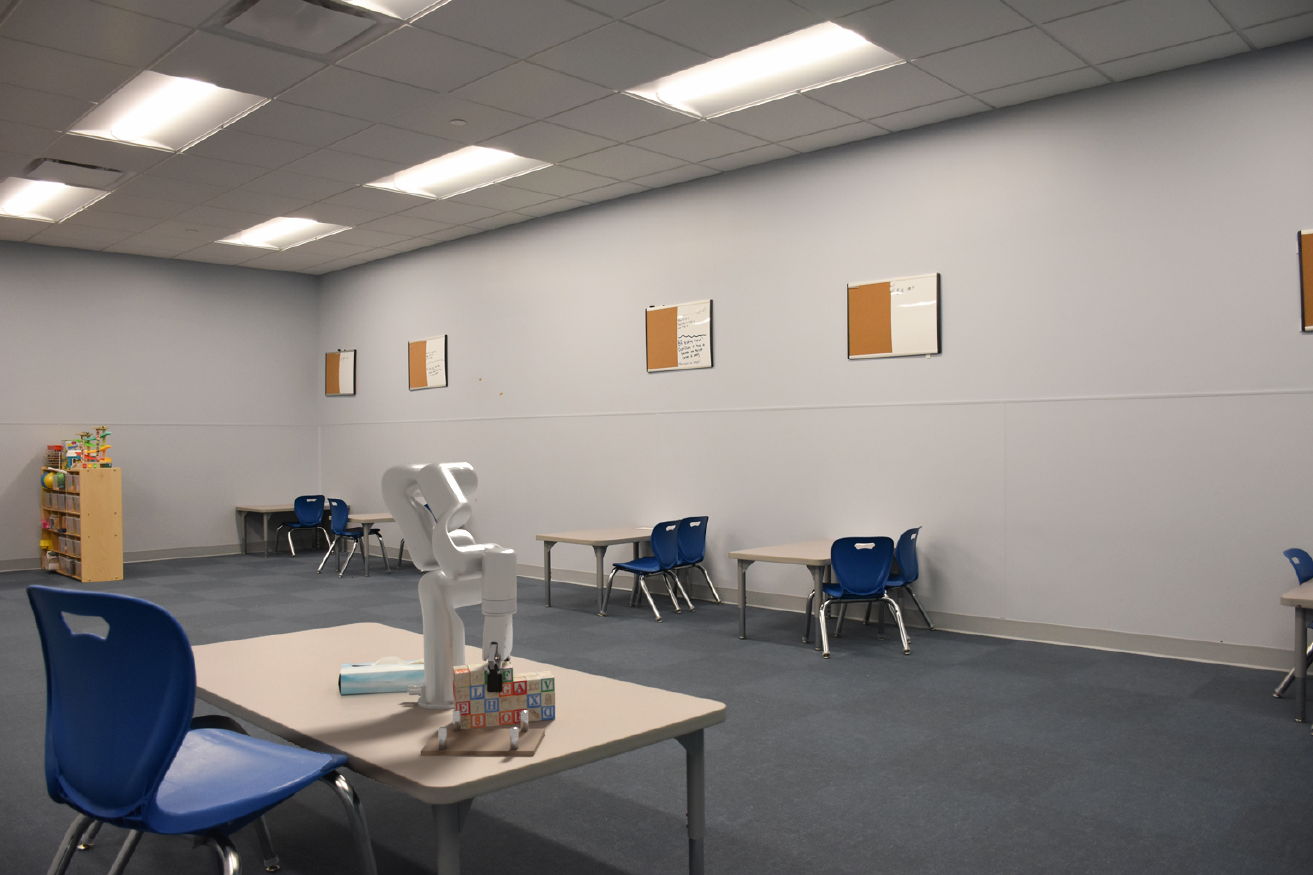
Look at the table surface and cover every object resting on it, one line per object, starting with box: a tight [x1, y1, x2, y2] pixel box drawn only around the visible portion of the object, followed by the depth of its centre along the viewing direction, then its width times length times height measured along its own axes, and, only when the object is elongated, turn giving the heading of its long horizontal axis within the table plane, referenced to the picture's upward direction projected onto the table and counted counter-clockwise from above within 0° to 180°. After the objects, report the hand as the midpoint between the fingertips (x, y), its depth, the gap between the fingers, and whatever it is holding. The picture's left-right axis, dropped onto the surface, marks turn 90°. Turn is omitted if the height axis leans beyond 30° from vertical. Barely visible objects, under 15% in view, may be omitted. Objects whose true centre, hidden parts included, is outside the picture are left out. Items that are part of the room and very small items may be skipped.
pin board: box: [420, 709, 546, 757], centre depth 183 cm, size 22×13×6 cm, turn 88°
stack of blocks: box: [453, 661, 556, 729], centre depth 200 cm, size 21×6×12 cm, turn 107°
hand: (499, 685), depth 200 cm, fingers open, 7 cm apart
